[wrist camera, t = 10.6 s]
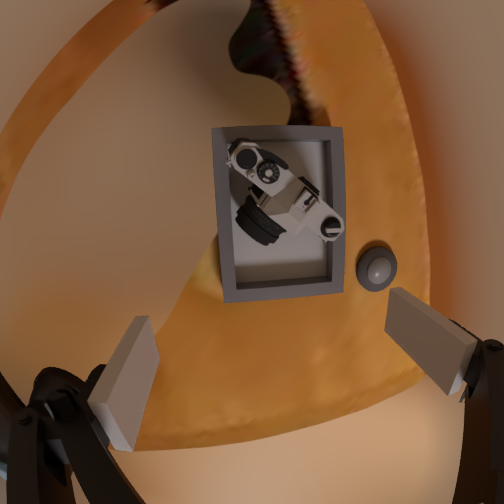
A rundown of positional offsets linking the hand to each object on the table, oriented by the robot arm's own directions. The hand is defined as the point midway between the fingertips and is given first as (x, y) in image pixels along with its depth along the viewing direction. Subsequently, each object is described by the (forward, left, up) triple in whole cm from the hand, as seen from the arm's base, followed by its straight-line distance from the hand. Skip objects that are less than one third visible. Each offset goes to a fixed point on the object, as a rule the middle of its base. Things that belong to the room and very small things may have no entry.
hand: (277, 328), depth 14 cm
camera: (+2, +6, -18) cm, 19 cm away
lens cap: (+16, -4, -20) cm, 26 cm away
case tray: (+3, +4, -20) cm, 20 cm away
